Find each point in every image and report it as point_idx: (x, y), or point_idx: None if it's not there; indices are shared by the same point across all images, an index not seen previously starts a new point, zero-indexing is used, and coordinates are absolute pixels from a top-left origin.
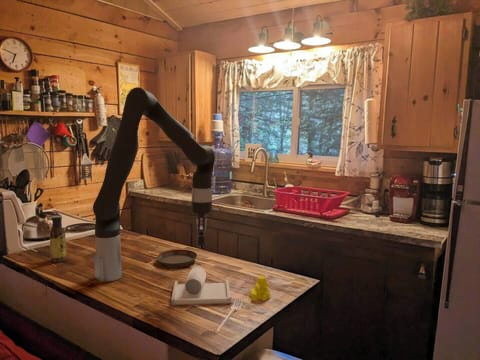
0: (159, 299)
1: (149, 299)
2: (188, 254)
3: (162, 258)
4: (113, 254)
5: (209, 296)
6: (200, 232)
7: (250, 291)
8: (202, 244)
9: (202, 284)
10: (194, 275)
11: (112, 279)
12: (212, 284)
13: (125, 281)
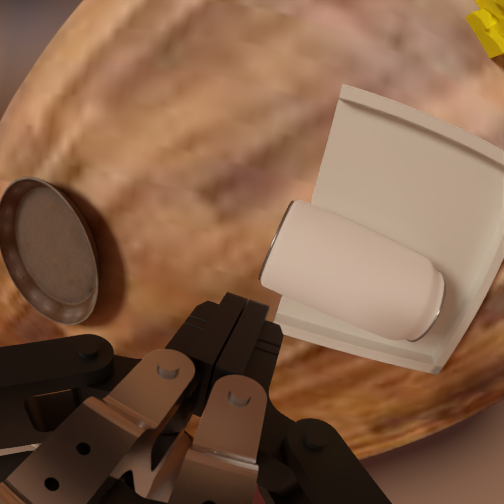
0: (372, 384)
1: (356, 404)
2: (15, 200)
3: (39, 289)
4: (159, 494)
5: (452, 227)
6: (293, 492)
7: (499, 54)
8: (278, 332)
9: (433, 266)
10: (405, 317)
11: (189, 442)
12: (336, 169)
13: (197, 420)
